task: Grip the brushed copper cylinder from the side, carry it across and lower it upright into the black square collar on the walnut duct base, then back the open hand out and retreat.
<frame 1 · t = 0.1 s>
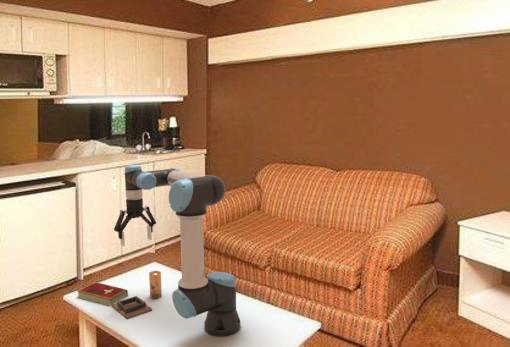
hand: (136, 242, 202), 28 cm above the table, tool pointing down, fingers open, 13 cm apart
hardcover book: (102, 298, 207), on the table
duct base: (131, 308, 195), on the table
brushed copper cylinder: (155, 296, 207), on the table
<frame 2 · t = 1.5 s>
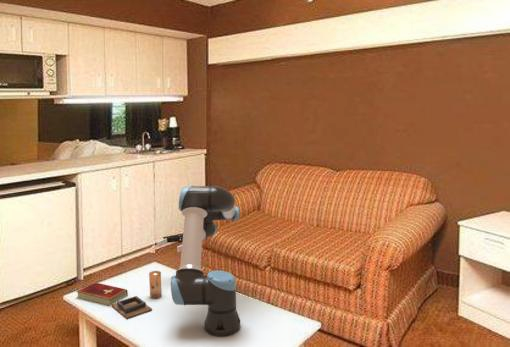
hand: (167, 247, 211), 22 cm above the table, tool horizontal, fingers open, 13 cm apart
nothing on the table moved.
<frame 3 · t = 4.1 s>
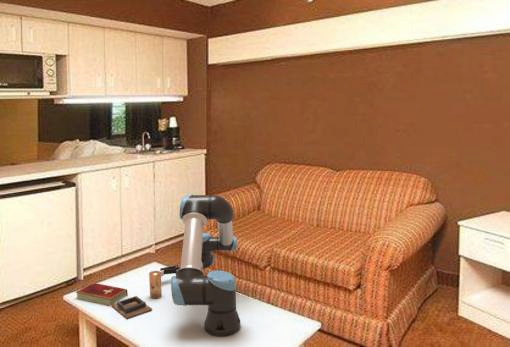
hand: (163, 279, 211), 6 cm above the table, tool horizontal, fingers open, 13 cm apart
nothing on the table moved.
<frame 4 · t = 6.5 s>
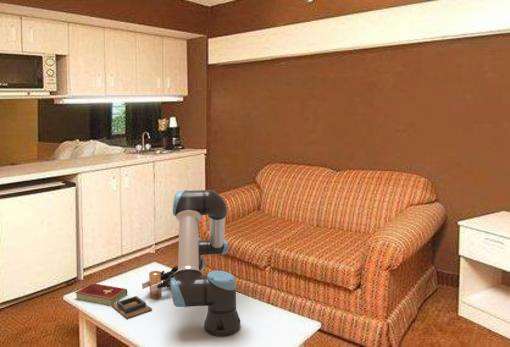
hand: (147, 287, 202), 7 cm above the table, tool horizontal, fingers closed on brushed copper cylinder, 5 cm apart
brushed copper cylinder: (155, 296, 207), on the table, touching gripper
everything else where it was.
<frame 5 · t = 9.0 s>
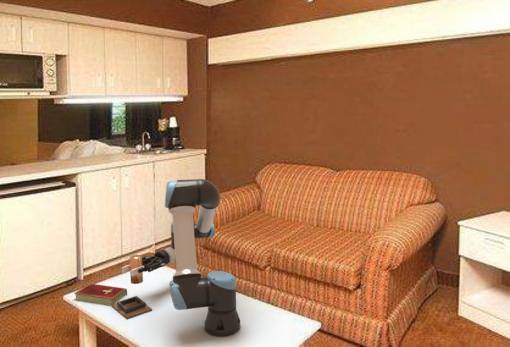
hand: (127, 271, 192), 18 cm above the table, tool horizontal, fingers closed on brushed copper cylinder, 5 cm apart
brushed copper cylinder: (136, 281, 197), point 11 cm above the table, touching gripper
when the fingers open (9 cm above the table, at t = 11.8 s): brushed copper cylinder drops 1 cm, resting on duct base.
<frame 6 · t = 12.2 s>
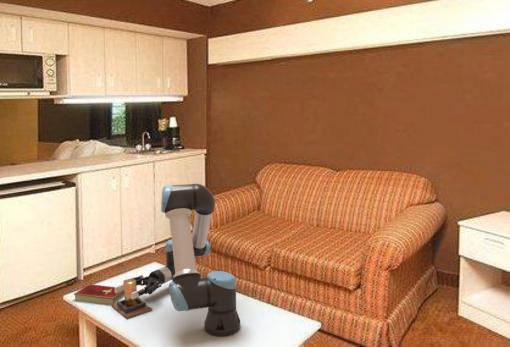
hand: (123, 293, 190), 9 cm above the table, tool horizontal, fingers open, 10 cm apart
brushed copper cylinder: (131, 306, 195), point 1 cm above the table, touching duct base
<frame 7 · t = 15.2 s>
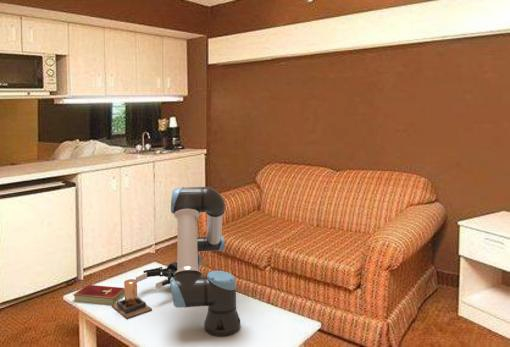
hand: (146, 282, 201), 9 cm above the table, tool horizontal, fingers open, 13 cm apart
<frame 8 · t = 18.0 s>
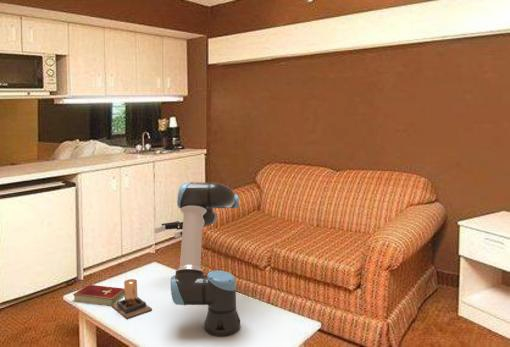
hand: (164, 233, 209), 30 cm above the table, tool horizontal, fingers open, 13 cm apart
at the end: brushed copper cylinder 0.1 cm off-centre on the duct base, point 1.0 cm above the duct base's base; brushed copper cylinder tilted 0°; the gripper is holding nothing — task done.
